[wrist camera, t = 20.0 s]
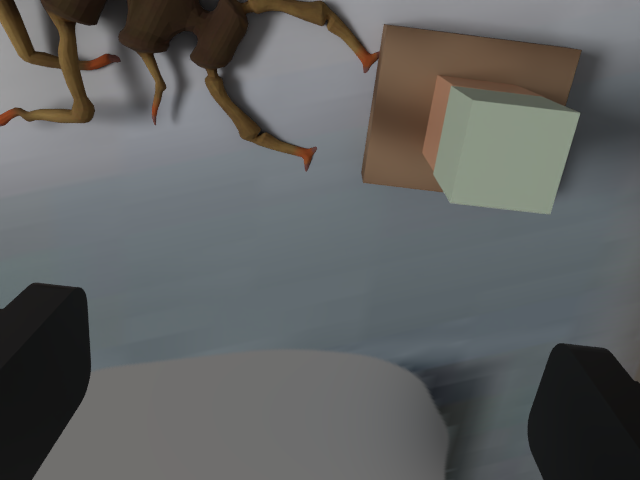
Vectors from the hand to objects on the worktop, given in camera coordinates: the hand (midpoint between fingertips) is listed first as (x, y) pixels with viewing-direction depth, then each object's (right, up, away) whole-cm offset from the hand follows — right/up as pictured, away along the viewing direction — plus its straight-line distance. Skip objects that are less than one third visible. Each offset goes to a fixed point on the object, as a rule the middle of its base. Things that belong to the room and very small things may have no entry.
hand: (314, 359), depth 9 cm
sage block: (+9, +8, +21) cm, 24 cm away
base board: (+10, +11, +28) cm, 31 cm away
